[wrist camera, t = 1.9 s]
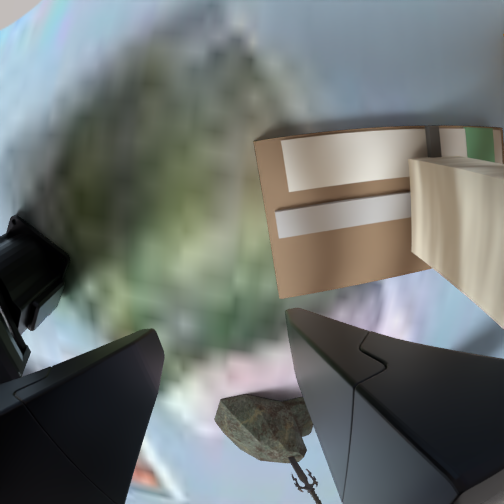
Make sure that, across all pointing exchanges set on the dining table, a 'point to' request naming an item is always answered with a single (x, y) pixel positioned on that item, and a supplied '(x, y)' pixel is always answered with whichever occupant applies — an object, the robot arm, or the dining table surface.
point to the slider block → (460, 222)
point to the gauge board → (350, 201)
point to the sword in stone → (269, 430)
